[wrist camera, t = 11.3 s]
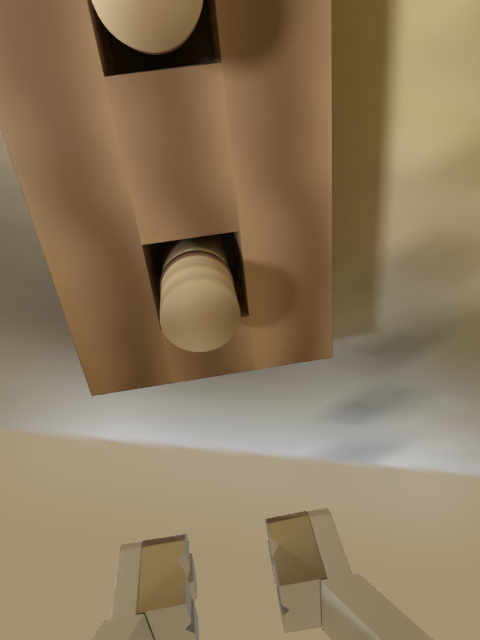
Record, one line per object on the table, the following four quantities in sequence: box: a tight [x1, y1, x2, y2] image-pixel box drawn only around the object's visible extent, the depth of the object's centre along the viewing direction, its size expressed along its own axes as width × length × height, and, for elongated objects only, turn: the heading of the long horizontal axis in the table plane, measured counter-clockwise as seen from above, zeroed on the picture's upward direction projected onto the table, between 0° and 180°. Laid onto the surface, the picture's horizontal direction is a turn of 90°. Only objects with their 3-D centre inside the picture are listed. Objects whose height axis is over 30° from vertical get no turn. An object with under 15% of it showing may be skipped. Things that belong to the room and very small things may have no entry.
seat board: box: [0, 0, 333, 396], centre depth 22 cm, size 14×24×4 cm, turn 6°
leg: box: [160, 234, 241, 352], centre depth 24 cm, size 4×4×8 cm
